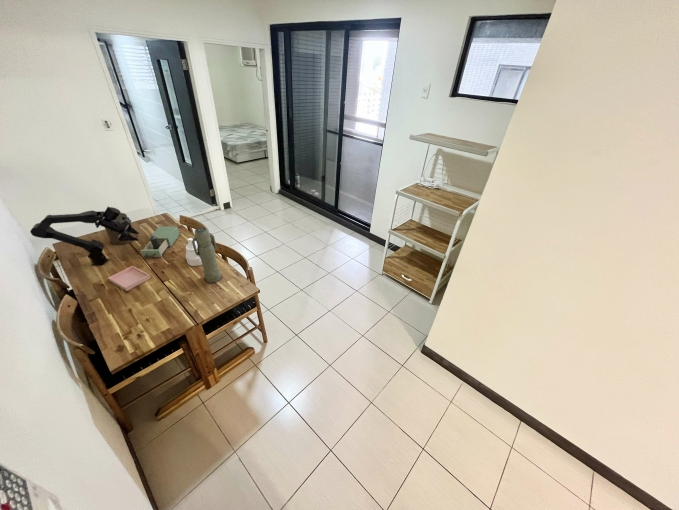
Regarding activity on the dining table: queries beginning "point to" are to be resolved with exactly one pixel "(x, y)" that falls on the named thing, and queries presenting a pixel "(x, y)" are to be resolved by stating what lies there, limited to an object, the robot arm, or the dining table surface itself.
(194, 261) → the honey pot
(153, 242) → the pepper mill
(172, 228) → the cabinet
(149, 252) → the drawer
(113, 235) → the wooden container
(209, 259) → the thermos
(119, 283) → the tray
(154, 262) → the dining table surface
